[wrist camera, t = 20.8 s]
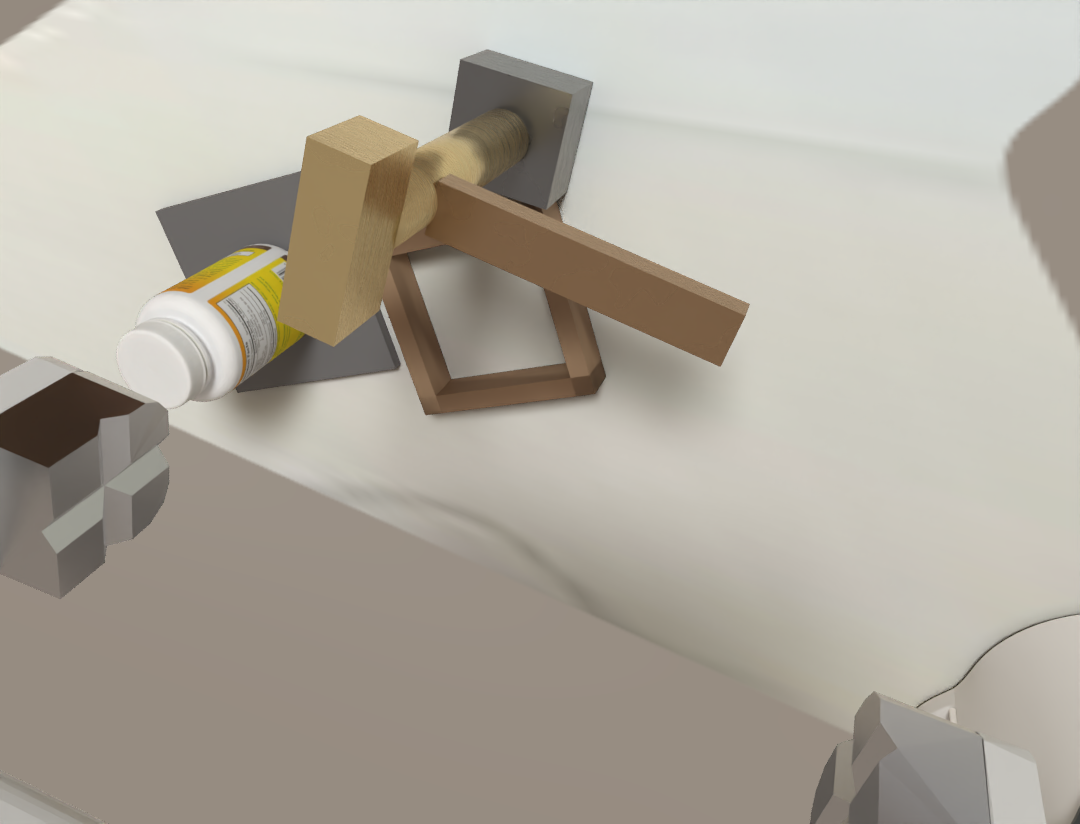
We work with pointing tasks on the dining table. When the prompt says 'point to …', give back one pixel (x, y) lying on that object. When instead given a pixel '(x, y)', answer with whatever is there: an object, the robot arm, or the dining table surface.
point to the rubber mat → (267, 218)
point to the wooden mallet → (466, 236)
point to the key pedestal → (526, 120)
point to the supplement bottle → (209, 330)
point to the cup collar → (497, 388)
